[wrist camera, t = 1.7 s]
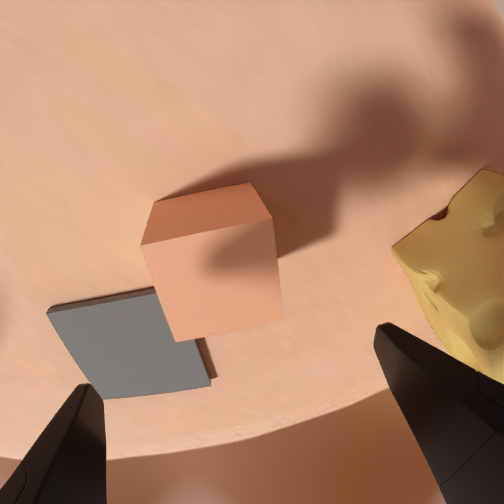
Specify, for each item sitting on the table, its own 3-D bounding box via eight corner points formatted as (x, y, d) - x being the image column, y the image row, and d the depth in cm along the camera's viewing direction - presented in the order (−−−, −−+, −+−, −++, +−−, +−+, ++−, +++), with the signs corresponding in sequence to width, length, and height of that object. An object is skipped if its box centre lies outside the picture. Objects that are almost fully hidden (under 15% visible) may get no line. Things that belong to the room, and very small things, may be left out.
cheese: (385, 247, 20) (483, 349, 11) (484, 158, 18) (592, 212, 9) (423, 325, 24) (486, 406, 16) (503, 250, 23) (575, 310, 14)
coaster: (177, 283, 18) (176, 289, 17) (210, 379, 22) (211, 385, 22) (48, 307, 17) (46, 313, 17) (103, 393, 22) (102, 399, 21)
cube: (249, 181, 16) (272, 218, 12) (261, 264, 19) (283, 320, 14) (154, 201, 16) (140, 245, 11) (177, 282, 18) (175, 342, 14)
